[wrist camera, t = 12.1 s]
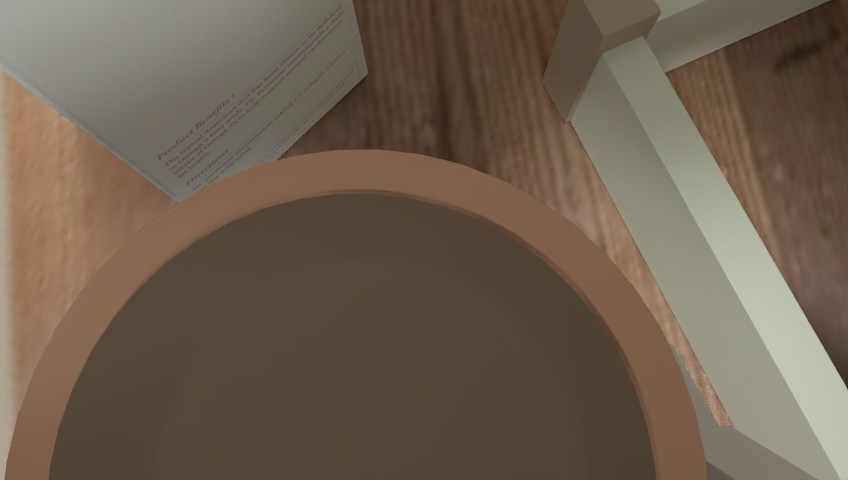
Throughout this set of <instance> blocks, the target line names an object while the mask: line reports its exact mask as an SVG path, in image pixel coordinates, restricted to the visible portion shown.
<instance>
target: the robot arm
mask: <svg viewBox="0 0 848 480" xmlns="http://www.w3.org/2000/svg"><path fill="white" fill-rule="evenodd" d="M669 346H670V348H671V350H672V352H673V354H674V356H675V358H676V360H677V362H678V364H679V366H680V369H681V371H682V374H683V377H684V380H685V383H686V386H687V389H688V392H689V395H690V397H691V400H692V403H693V406H694V409H695V412H696V416H697V421H698V426H699V430H700V435H701V440H702V445H703V449H704V454H705V459H706V469H707V480H818V479H816V478H815V477H813V476H811V475H810V474H808V473H806V472H805V471H803V470H802V469H800V468H798V467H797V466H795V465H793V464H792V463H790V462H789V461H787V460H785V459H784V458H782V457H780V456H779V455H777V454H775V453H774V452H772V451H771V450H769V449H767V448H766V447H764V446H762V445H761V444H759V443H758V442H756V441H754V440H753V439H751V438H749V437H748V436H746V435H745V434H743V433H741V432H740V431H738V430H736V429H735V428H733V427H731V426H723V427H719V425H718V423H717V421H716V420H715V418H714V416H713V414H712V413H711V411H710V409H709V407H708V405H707V404H706V402H705V400H704V398H703V396H702V395H701V393H700V391H699V389H698V388H697V386H696V384H695V382H694V380H693V379H692V377H691V375H690V373H689V371H688V370H687V368H686V366H685V364H684V362H683V361H682V359H681V357H680V355H679V354H678V352H677V350H676V348H675V347H673V346H672V345H671V344H669Z"/></svg>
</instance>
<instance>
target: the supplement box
mask: <svg viewBox="0 0 848 480" xmlns="http://www.w3.org/2000/svg"><path fill="white" fill-rule="evenodd" d="M0 69H1V70H3V71H4V72H5V73H7V74H8V75H9V76H11V77H12V78H13V79H15V80H16V81H17V82H19V83H20V84H22V85H23V86H24V87H25V88H27V89H28V90H29V91H31V92H32V93H33V94H34V95H36V96H37V97H39V98H40V99H41V100H43V101H44V102H45V103H47V104H48V105H49V106H51V107H52V108H53V109H55V110H56V111H57V112H59V113H60V114H61V115H63V116H64V117H65V118H67V119H68V120H70V121H71V122H72V123H73V124H75V125H76V126H77V127H79V128H80V129H81V130H83V131H84V132H85V133H87V134H88V135H89V136H90V137H92V138H93V139H94V140H96V141H97V142H98V143H99V144H101V145H102V146H103V147H105V148H106V149H107V150H108V151H110V152H111V153H113V154H114V155H115V156H117V157H118V158H119V159H121V160H122V161H123V162H125V163H126V164H127V165H128V166H130V167H131V168H132V169H134V170H135V171H136V172H138V173H139V174H141V175H142V176H143V177H145V178H146V179H147V180H149V181H150V182H151V183H153V184H154V185H155V186H157V187H158V188H159V189H160V190H162V191H163V192H165V193H166V194H168V195H169V196H171V197H172V198H174V199H175V200H177V201H178V202H180V201H182V200H184V199H186V198H187V197H189V196H191V195H193V194H195V193H196V192H198V191H200V190H202V189H204V188H206V187H207V186H209V185H211V184H213V183H215V182H217V181H219V180H222V179H224V178H227V177H229V176H232V175H234V174H237V173H239V172H242V171H244V170H247V169H249V168H252V167H254V166H258V165H262V164H266V163H269V162H273V161H276V160H277V159H278V158H279V157H280V156H281V155H282V154H283V153H285V152H286V151H287V150H288V149H289V148H290V147H291V146H292V145H293V144H294V143H295V142H296V141H297V140H298V139H299V138H300V137H302V136H303V135H304V134H305V133H306V132H307V131H308V130H309V129H310V128H311V127H312V126H313V125H314V124H315V123H316V122H317V121H319V120H320V119H321V118H322V117H323V116H324V115H325V114H326V113H327V112H328V111H329V110H330V109H331V108H332V107H333V106H334V105H336V104H337V103H338V102H339V101H340V100H341V99H342V98H343V97H344V96H345V95H346V94H347V93H348V92H349V91H350V90H351V89H352V88H354V87H355V86H356V85H357V84H358V83H359V82H360V81H361V80H362V79H363V78H364V77H365V76H367V74H368V69H367V65H366V60H365V56H364V51H363V46H362V42H361V37H360V33H359V28H358V24H357V19H356V14H355V9H354V5H353V0H0Z"/></svg>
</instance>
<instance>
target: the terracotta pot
mask: <svg viewBox="0 0 848 480" xmlns="http://www.w3.org/2000/svg"><path fill="white" fill-rule="evenodd" d="M5 480H707V469H706V459H705V454H704V449H703V445H702V440H701V435H700V430H699V426H698V421H697V416H696V412H695V409H694V406H693V403H692V400H691V397H690V395H689V392H688V389H687V386H686V383H685V380H684V377H683V374H682V371H681V369H680V366H679V364H678V362H677V360H676V358H675V356H674V354H673V352H672V350H671V348H670V346H669V344H668V342H667V340H666V338H665V336H664V334H663V332H662V330H661V328H660V326H659V324H658V323H657V321H656V320H655V318H654V317H653V315H652V314H651V312H650V310H649V309H648V307H647V306H646V304H645V303H644V301H643V300H642V298H641V297H640V295H639V294H638V292H637V291H636V289H635V288H634V287H633V285H632V284H631V283H630V282H629V281H628V279H627V278H626V277H625V276H624V275H623V274H622V272H621V271H620V270H619V269H618V268H617V267H616V265H615V264H614V263H613V262H612V261H611V260H610V258H609V257H608V256H607V255H606V254H605V253H604V252H603V251H602V250H601V249H600V248H599V247H598V246H597V245H595V244H594V243H593V242H592V241H591V240H590V239H589V238H588V237H587V236H586V235H585V234H583V233H582V232H581V231H580V230H579V229H578V228H577V227H576V226H575V225H574V224H572V223H571V222H569V221H568V220H567V219H565V218H564V217H562V216H561V215H560V214H558V213H557V212H555V211H554V210H552V209H551V208H550V207H548V206H547V205H545V204H544V203H543V202H541V201H540V200H538V199H537V198H535V197H533V196H531V195H529V194H527V193H525V192H523V191H522V190H520V189H518V188H516V187H514V186H512V185H510V184H508V183H507V182H505V181H503V180H501V179H499V178H496V177H493V176H491V175H488V174H485V173H483V172H480V171H478V170H475V169H472V168H470V167H467V166H464V165H462V164H458V163H454V162H450V161H446V160H442V159H438V158H434V157H430V156H425V155H421V154H414V153H405V152H397V151H388V150H379V149H374V150H333V151H325V152H318V153H311V154H303V155H296V156H292V157H288V158H284V159H281V160H277V161H273V162H269V163H266V164H262V165H258V166H254V167H252V168H249V169H247V170H244V171H242V172H239V173H237V174H234V175H232V176H229V177H227V178H224V179H222V180H219V181H217V182H215V183H213V184H211V185H209V186H207V187H206V188H204V189H202V190H200V191H198V192H196V193H195V194H193V195H191V196H189V197H187V198H186V199H184V200H182V201H180V202H178V203H177V204H175V205H174V206H173V207H171V208H170V209H168V210H167V211H166V212H164V213H163V214H161V215H160V216H159V217H157V218H156V219H154V220H153V221H152V222H150V223H149V224H148V225H146V226H145V227H143V228H142V229H141V230H140V231H139V232H138V233H137V234H135V235H134V236H133V237H132V238H131V239H130V240H129V241H128V242H127V243H126V244H125V245H123V246H122V247H121V248H120V249H119V250H118V251H117V252H116V253H115V254H114V255H113V256H112V257H110V258H109V260H108V261H107V262H106V263H105V264H104V265H103V267H102V268H101V269H100V270H99V271H98V272H97V274H96V275H95V276H94V277H93V278H92V279H91V281H90V282H89V283H88V284H87V285H86V286H85V288H84V289H83V290H82V291H81V292H80V294H79V295H78V297H77V298H76V300H75V301H74V303H73V304H72V306H71V307H70V309H69V310H68V312H67V313H66V315H65V316H64V318H63V319H62V321H61V322H60V324H59V325H58V326H57V328H56V329H55V331H54V333H53V335H52V337H51V339H50V341H49V343H48V345H47V347H46V349H45V351H44V353H43V355H42V357H41V359H40V361H39V363H38V365H37V366H36V368H35V370H34V373H33V376H32V378H31V381H30V384H29V386H28V389H27V392H26V394H25V397H24V400H23V403H22V405H21V408H20V411H19V413H18V417H17V421H16V425H15V429H14V433H13V438H12V442H11V446H10V450H9V454H8V459H7V464H6V473H5Z"/></svg>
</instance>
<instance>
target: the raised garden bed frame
mask: <svg viewBox="0 0 848 480" xmlns="http://www.w3.org/2000/svg"><path fill="white" fill-rule="evenodd" d="M828 1H830V0H568V3H567V6H566V9H565V12H564V15H563V18H562V21H561V24H560V28H559V31H558V34H557V37H556V40H555V43H554V46H553V49H552V52H551V55H550V58H549V61H548V64H547V67H546V70H545V73H544V77H543V80H542V82H543V84H544V86H545V88H546V90H547V92H548V94H549V95H550V97H551V99H552V101H553V103H554V105H555V107H556V109H557V110H558V112H559V114H560V116H561V118H562V120H563V122H564V123H566V122H569V121H570V122H571V124H572V125H573V127H574V129H575V131H576V133H577V135H578V137H579V139H580V140H581V142H582V144H583V146H584V148H585V150H586V152H587V153H588V155H589V157H590V159H591V161H592V163H593V165H594V167H595V168H596V170H597V172H598V174H599V176H600V178H601V180H602V181H603V183H604V185H605V187H606V189H607V191H608V193H609V194H610V196H611V198H612V200H613V202H614V204H615V206H616V208H617V209H618V211H619V213H620V215H621V217H622V219H623V221H624V222H625V224H626V226H627V228H628V230H629V232H630V234H631V235H632V237H633V239H634V241H635V243H636V245H637V247H638V249H639V250H640V252H641V254H642V256H643V258H644V260H645V262H646V263H647V265H648V267H649V269H650V271H651V273H652V275H653V277H654V278H655V280H656V282H657V284H658V286H659V288H660V290H661V291H662V293H663V295H664V297H665V299H666V301H667V303H668V304H669V306H670V308H671V310H672V312H673V314H674V316H675V318H676V319H677V321H678V323H679V325H680V327H681V329H682V331H683V332H684V334H685V336H686V338H687V340H688V342H689V344H690V346H691V347H692V349H693V351H694V353H695V355H696V357H697V359H698V360H699V362H700V364H701V366H702V368H703V370H704V372H705V373H706V375H707V377H708V379H709V381H710V383H711V385H712V387H713V388H714V390H715V392H716V394H717V396H718V398H719V400H720V401H721V403H722V405H723V407H724V409H725V411H726V413H727V414H728V416H729V418H730V420H731V422H732V424H733V426H734V428H735V429H736V430H738V431H740V432H741V433H743V434H745V435H746V436H748V437H749V438H751V439H753V440H754V441H756V442H758V443H759V444H761V445H762V446H764V447H766V448H767V449H769V450H771V451H772V452H774V453H775V454H777V455H779V456H780V457H782V458H784V459H785V460H787V461H789V462H790V463H792V464H793V465H795V466H797V467H798V468H800V469H802V470H803V471H805V472H806V473H808V474H810V475H811V476H813V477H815V478H816V479H818V480H848V389H847V387H846V386H845V384H844V382H843V380H842V379H841V377H840V375H839V373H838V372H837V370H836V368H835V367H834V365H833V363H832V361H831V360H830V358H829V356H828V354H827V353H826V351H825V349H824V348H823V346H822V344H821V342H820V341H819V339H818V337H817V335H816V334H815V332H814V330H813V329H812V327H811V325H810V323H809V322H808V320H807V318H806V316H805V315H804V313H803V311H802V310H801V308H800V306H799V304H798V303H797V301H796V299H795V297H794V296H793V294H792V292H791V291H790V289H789V287H788V285H787V284H786V282H785V280H784V278H783V277H782V275H781V273H780V272H779V270H778V268H777V266H776V265H775V263H774V261H773V259H772V258H771V256H770V254H769V253H768V251H767V249H766V247H765V246H764V244H763V242H762V240H761V239H760V237H759V235H758V233H757V232H756V230H755V228H754V227H753V225H752V223H751V221H750V220H749V218H748V216H747V214H746V213H745V211H744V209H743V208H742V206H741V204H740V202H739V201H738V199H737V197H736V195H735V194H734V192H733V190H732V189H731V187H730V185H729V183H728V182H727V180H726V178H725V176H724V175H723V173H722V171H721V170H720V168H719V166H718V164H717V163H716V161H715V159H714V157H713V156H712V154H711V152H710V151H709V149H708V147H707V145H706V144H705V142H704V140H703V138H702V137H701V135H700V133H699V132H698V130H697V128H696V126H695V125H694V123H693V121H692V119H691V118H690V116H689V114H688V113H687V111H686V109H685V107H684V106H683V104H682V102H681V100H680V99H679V97H678V95H677V94H676V92H675V90H674V88H673V87H672V85H671V83H670V81H669V80H668V78H667V76H666V75H665V73H666V72H668V71H670V70H672V69H675V68H677V67H679V66H682V65H684V64H686V63H688V62H691V61H693V60H695V59H698V58H700V57H702V56H704V55H707V54H709V53H711V52H713V51H716V50H718V49H720V48H723V47H725V46H727V45H729V44H732V43H734V42H736V41H739V40H741V39H743V38H745V37H748V36H750V35H752V34H755V33H757V32H759V31H761V30H764V29H766V28H768V27H771V26H773V25H775V24H777V23H780V22H782V21H784V20H787V19H789V18H791V17H793V16H796V15H798V14H800V13H803V12H805V11H807V10H809V9H812V8H814V7H816V6H819V5H821V4H823V3H825V2H828Z"/></svg>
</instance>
